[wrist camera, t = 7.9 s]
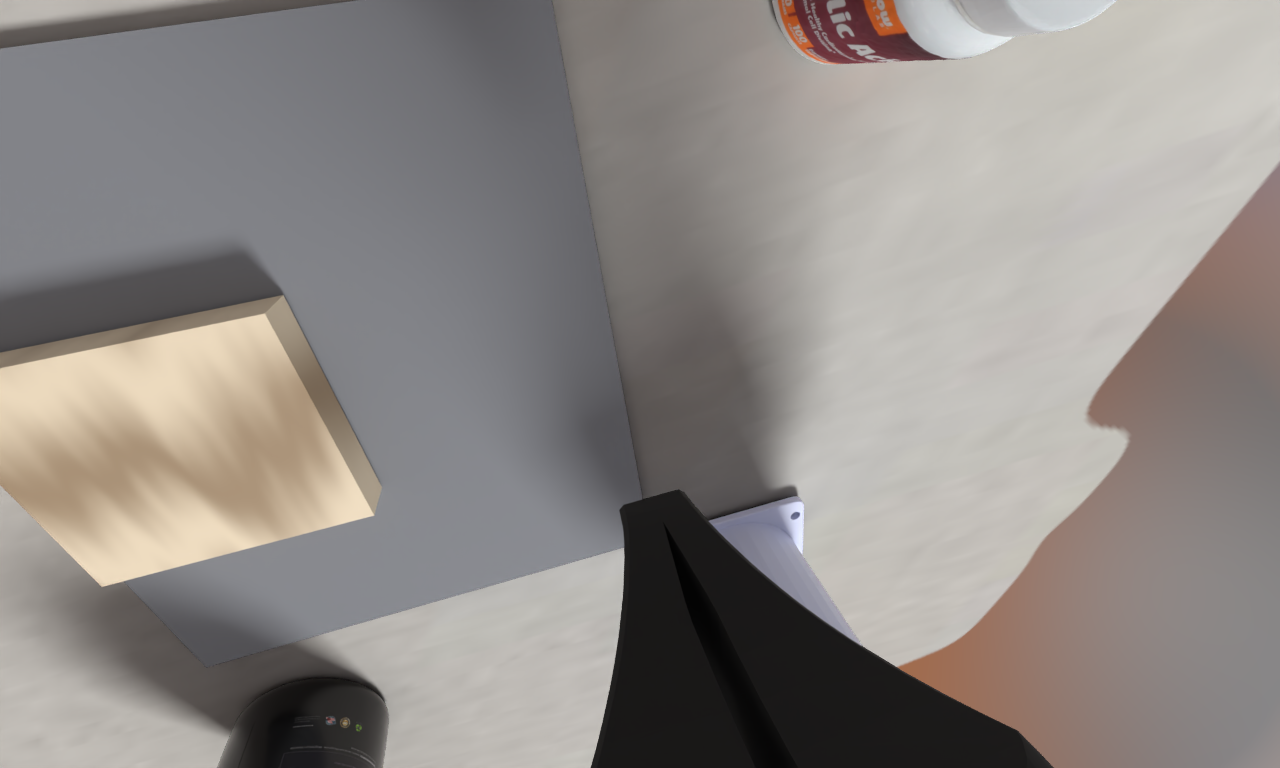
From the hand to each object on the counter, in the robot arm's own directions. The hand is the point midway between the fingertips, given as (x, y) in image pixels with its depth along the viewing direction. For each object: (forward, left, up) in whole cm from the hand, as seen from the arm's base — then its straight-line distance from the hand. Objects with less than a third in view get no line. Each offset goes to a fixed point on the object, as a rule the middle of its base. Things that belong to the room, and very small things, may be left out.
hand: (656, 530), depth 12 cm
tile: (0, +9, -9) cm, 13 cm away
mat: (0, +9, -10) cm, 14 cm away
